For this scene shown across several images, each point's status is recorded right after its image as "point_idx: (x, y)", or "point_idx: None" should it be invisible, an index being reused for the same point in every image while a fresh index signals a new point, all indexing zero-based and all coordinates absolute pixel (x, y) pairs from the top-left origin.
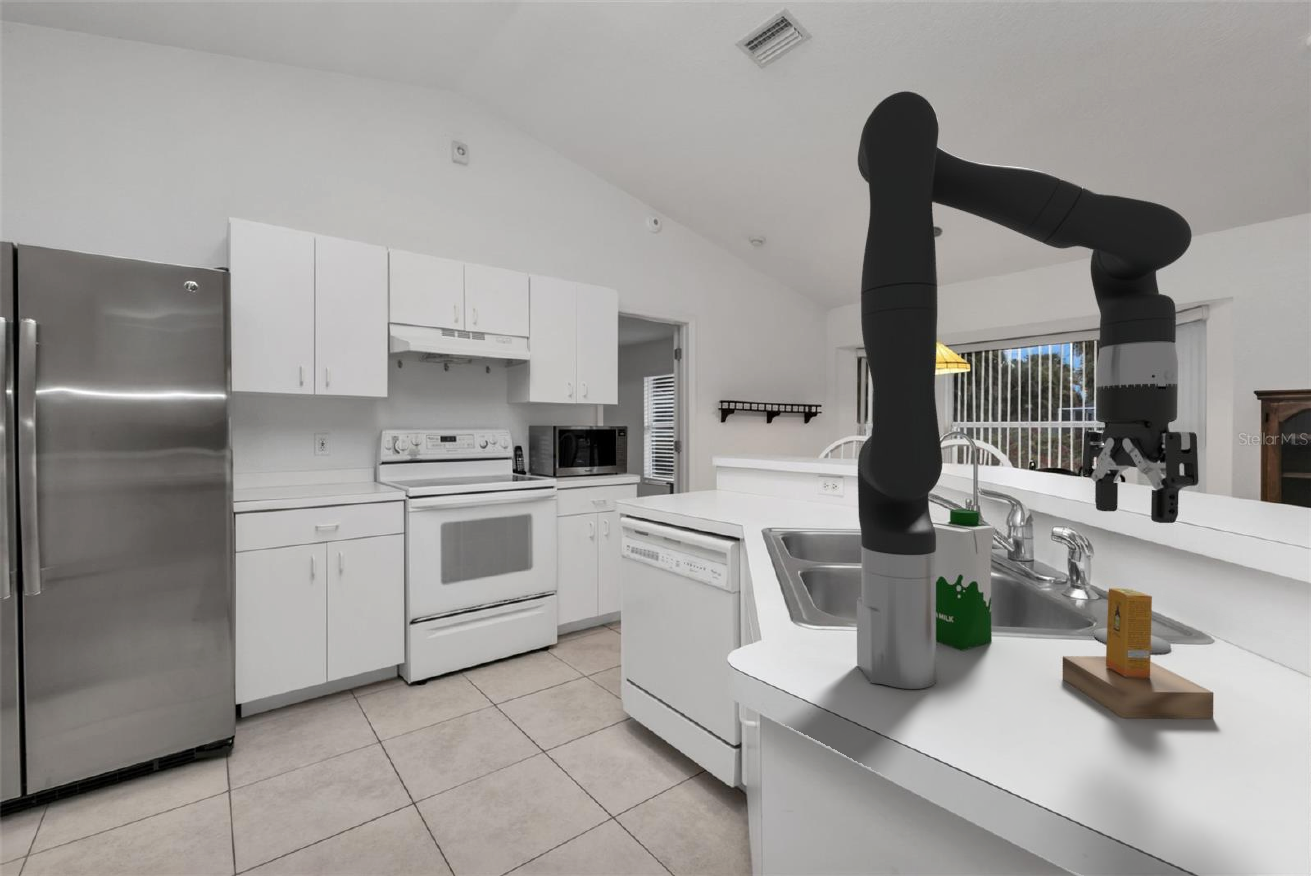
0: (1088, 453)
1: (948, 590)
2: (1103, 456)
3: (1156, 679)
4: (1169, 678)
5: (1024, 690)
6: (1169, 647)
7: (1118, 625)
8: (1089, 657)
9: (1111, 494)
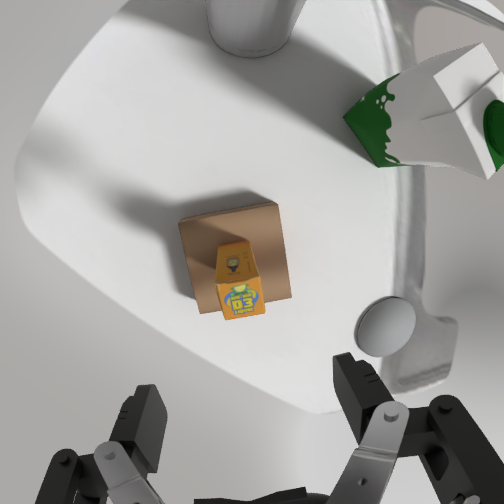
0: (467, 461)
1: (382, 86)
2: (357, 495)
3: None
4: None
5: (232, 143)
6: (365, 352)
7: (229, 261)
8: (279, 236)
9: (348, 408)
